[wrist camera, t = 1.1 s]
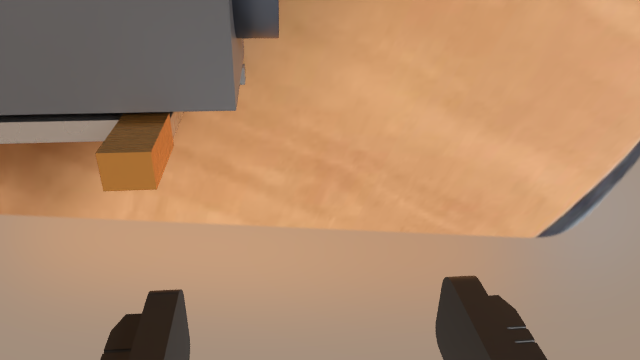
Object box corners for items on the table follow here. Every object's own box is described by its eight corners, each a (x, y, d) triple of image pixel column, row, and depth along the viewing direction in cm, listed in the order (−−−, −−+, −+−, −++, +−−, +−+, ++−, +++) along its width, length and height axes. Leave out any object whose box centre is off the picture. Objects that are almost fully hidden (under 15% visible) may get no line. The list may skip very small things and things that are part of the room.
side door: (191, 65, 30) (151, 151, 19) (194, 91, 30) (156, 189, 20) (-25, 67, 28) (-200, 161, 18) (-17, 94, 29) (-180, 200, 18)
